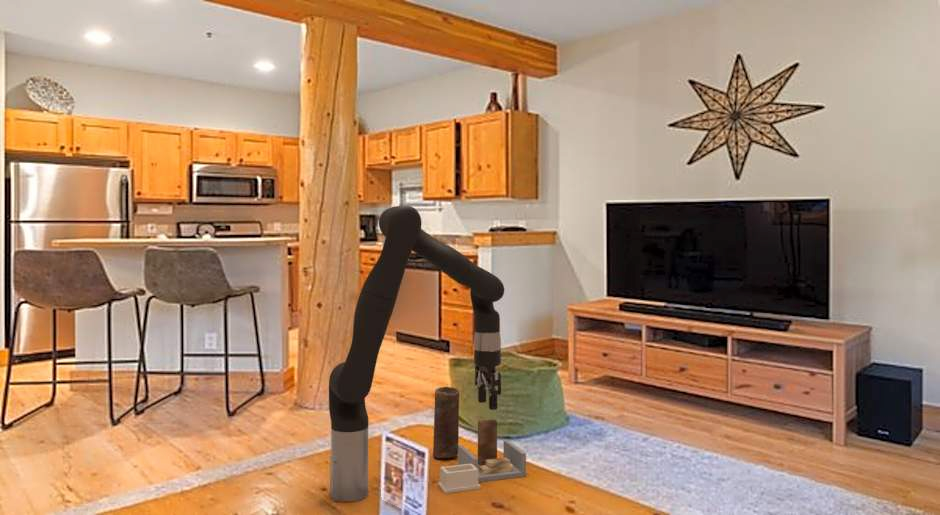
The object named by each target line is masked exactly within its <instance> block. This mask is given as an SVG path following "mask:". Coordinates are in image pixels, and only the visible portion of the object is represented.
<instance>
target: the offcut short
mask: <svg viewBox="0 0 940 515" xmlns="http://www.w3.org/2000/svg"><path fill="white" fill-rule="evenodd" d="M486 466H487V467H488V468H490V469H491V468H498V467H505V466H510V460H509V459H507V458H506V457H497V458H496V459H489V460H486Z"/></svg>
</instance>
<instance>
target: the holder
mask: <svg viewBox="0 0 940 515" xmlns="http://www.w3.org/2000/svg"><path fill="white" fill-rule="evenodd" d="M439 469H440V470H439V472H440V474H439V476H440V478H439V481H438V482H437V486H438V487H439V488H440V490H441V491H442V492H443V493H444V494H450V493H451V494H452V493H457V492H458V493H459V492H465V491H466V492H467V491H474V490H481V488H482V486H481V484H480V482H478V469H477V468H476V467H475V466H474V465H473V464H472V463H471V464H463V465H458V464H457V465H448V466H447V465H446V466H440V467H439Z"/></svg>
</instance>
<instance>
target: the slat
mask: <svg viewBox="0 0 940 515" xmlns="http://www.w3.org/2000/svg"><path fill="white" fill-rule="evenodd" d="M477 458H478V464H479V465H480V466H482V465H486V460H489V459H496V458H498V421H497V420H496V419H495V418H494V419H483V420H478V421H477Z"/></svg>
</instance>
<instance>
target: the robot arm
mask: <svg viewBox="0 0 940 515" xmlns="http://www.w3.org/2000/svg"><path fill="white" fill-rule="evenodd" d="M378 228H379V230H380V232H381V234H382V235H383V236H384V237H385V238H384V241H383V246H382V250H381V252H380V255H379V257H378V258H377V261H376V262H375V264H374V265H373V267H372V269H371V270H370V271H369V273H368V275H367V277H366V278H365V281H364V283H363V285H362V288H361V290H360V293H359V296H358V299H357V302H356V306H355V310H354V316H353V327H352V339H351V345H350V348H349V351H348V353H347V356H346V358H345V361H343V362H341V363H339V364H337V365H336V366H334V368H333V369H332V371H331V372H330V375H329V379H328V408H329V411H328V412H329V418H330V429H331V430H330V433H331V434H330V435H331V436H330V437H331V439H330V441H331V442H330V446H331V447H330V448H331V449H330V451H331V452H330V454H331V455H330V457H329V495H330V497H331V500H332V502H342V503H343V502H344V503H349V502H357V501H361V500H364V499H365V498H367V497H368V496H369V414H368V412H367V407H366V397H367V396H368V395H369V394H370V391H371V389H372V386H373V381H374V378H375V377H374V376H375V370H376V365H377V361H378V356H379V353H380V349H381V346H382V343H383V341H384V338H385V335H386V333H387V329H388V328H389V327H388V326H389V322H390V320H391V319H392V315H393V311H394V308H395V304H396V302H397V299H398V295H399V292H400V287H401V286H402V281H403V278H404V275H405V270H406V268H407V264H408V261H409V259H410V257H411V254H412V252H413V253H415V254H417V255H418V256H420V257H421V258H422V259H424V260H426V261H427V262H428V263H430V264H431V265H433V266H434V267H435V268H437V269H438V270H439V271H440V272H442V273H443V274H445V275H446V276H448V277H449V278H450V279H451V280H453V281H454V282H456V283H457V284H459V285H461V286H465V287H467V288H469V289H470V291H469V293H470V294H469V295H470V302H471V307H472V311H473V315H474V335H473V336H474V337H473V363H474V365H475V366H474V385H475V386H476V389H477V401H478V403H479V404H481V403H486V402H487V393H488V409H489V410H491V411H495V410H496V411H497V409H498V396H501V395H502V378H501V377H502V376H501V375H502V373H501V372H500V371H499V372H497V370H496V367H499V366H500V365H501V364H502V351H501V350H502V342H501V341H502V339H501V322H500V321H501V320H500V319H501V318H500V313H499V312H498V311H497V310H496V309H495V307H494V303H496V302H498V301H499V300H501V299H502V298H503V297H504V294H505V287H504V283H503V282H502V281H501V279H499V277H497V276H496V274H493V273H491V272H490V271H488V270H486V269H484V268H482V267H480V266H478V265H477V264H475V263H474V262H473V260H470V259H469V258H468V257H466V255H464V254H462V253H461V252H459V251H458V250H457V249H455V248H454V247H452V246H450V245H448V244H446V243H444V242H442V241H441V240H439V239H437V238H435V237H433V236H432V235H431V234H429V233H427V232H426V231H425V230H424V229H422V217H421V215H420V213H419V211H418V210H417V209H416V208H415V207H413V206H411V205H397V206H391V207H388V208H386V209H385V210H384V211H383V212H382V213H381V214H380V215H379V219H378Z"/></svg>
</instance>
